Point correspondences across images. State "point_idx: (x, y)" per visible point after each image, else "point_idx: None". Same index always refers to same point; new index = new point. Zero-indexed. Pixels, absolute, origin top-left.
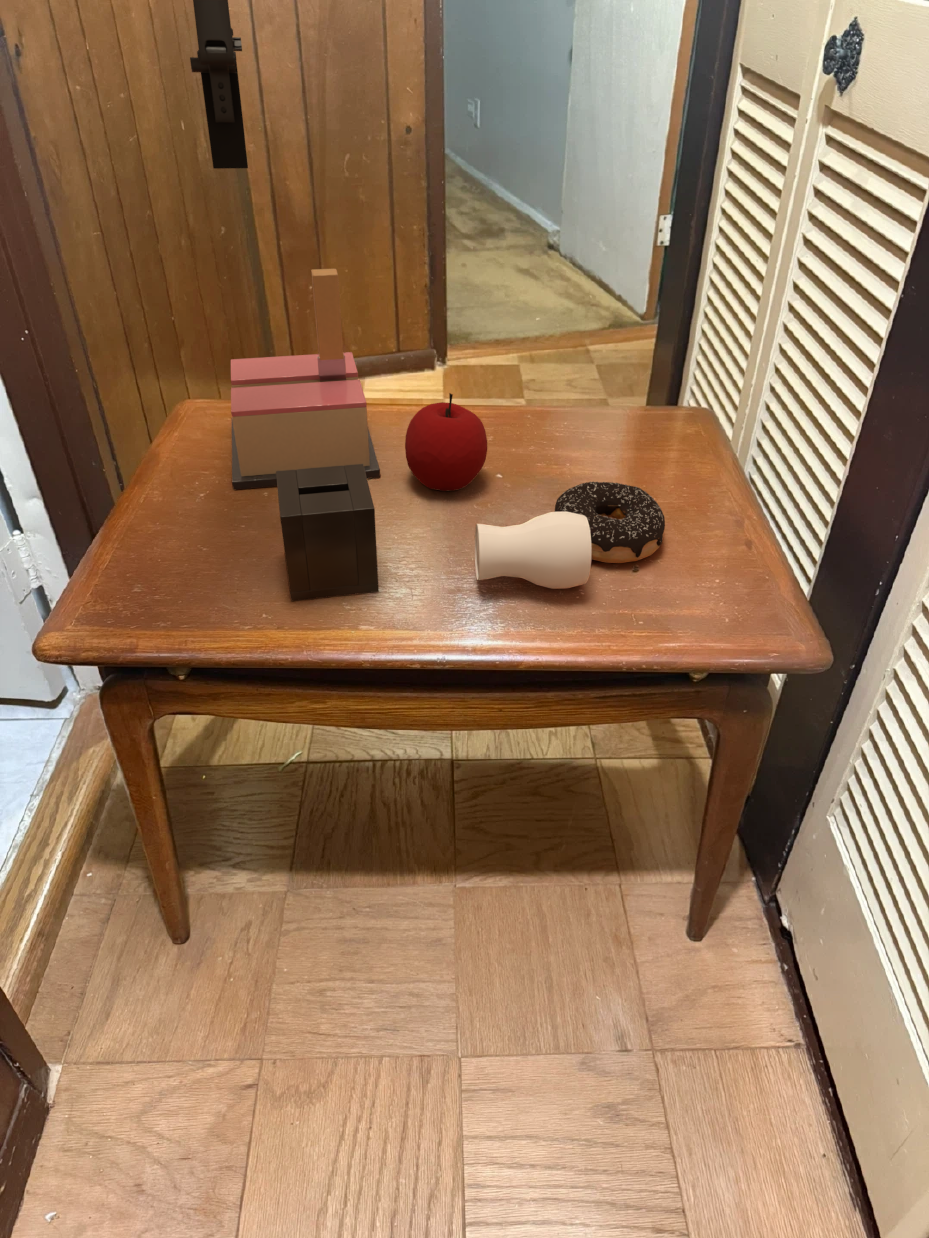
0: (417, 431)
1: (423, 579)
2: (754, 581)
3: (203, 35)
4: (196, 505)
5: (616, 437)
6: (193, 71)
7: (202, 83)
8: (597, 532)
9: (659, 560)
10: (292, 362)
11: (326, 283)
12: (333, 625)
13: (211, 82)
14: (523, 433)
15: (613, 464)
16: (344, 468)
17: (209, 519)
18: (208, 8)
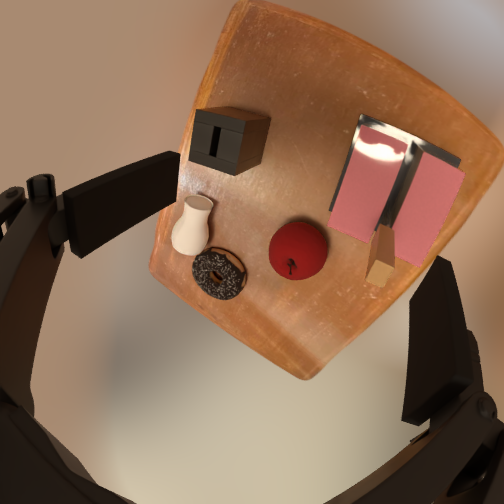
0: (290, 237)
1: (221, 175)
2: (181, 289)
3: None
4: (352, 84)
5: (301, 340)
6: (46, 176)
7: (76, 186)
8: (199, 259)
9: None
10: (430, 216)
11: (370, 266)
12: None
13: (59, 196)
14: (333, 311)
15: (278, 319)
16: (233, 163)
17: (329, 86)
18: None
